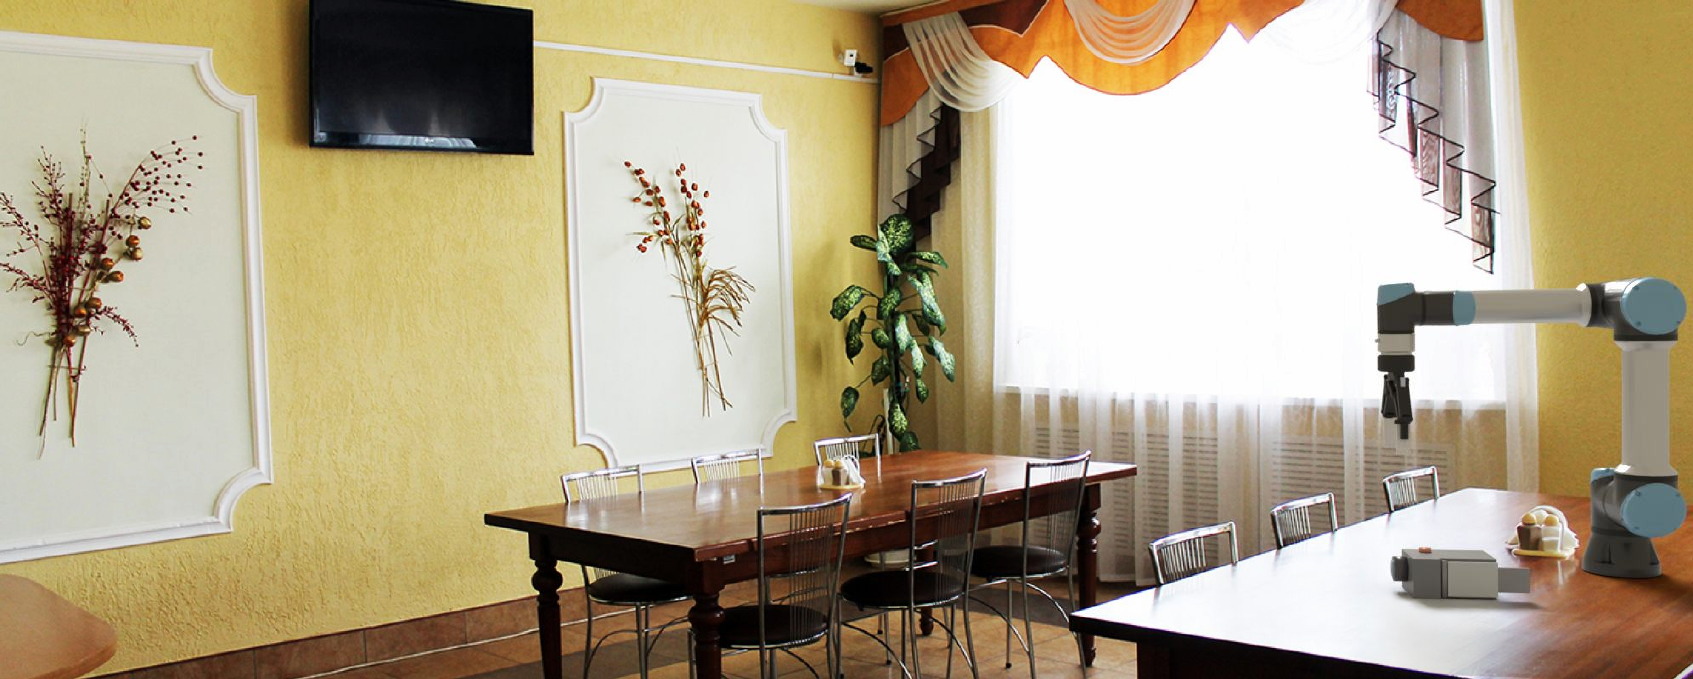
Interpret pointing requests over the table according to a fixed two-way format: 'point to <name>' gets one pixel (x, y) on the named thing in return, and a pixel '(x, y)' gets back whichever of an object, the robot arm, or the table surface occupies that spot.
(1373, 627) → the table surface
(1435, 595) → the housing
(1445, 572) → the side door
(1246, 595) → the table surface
